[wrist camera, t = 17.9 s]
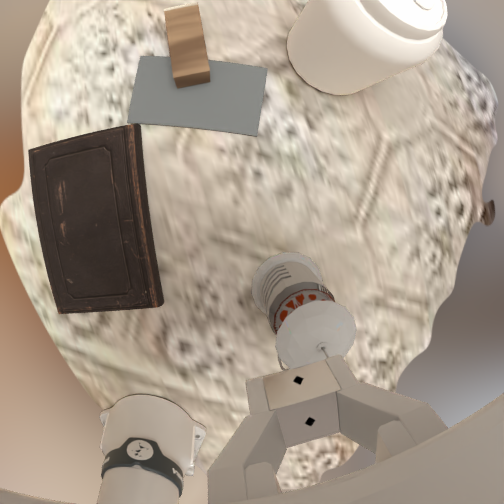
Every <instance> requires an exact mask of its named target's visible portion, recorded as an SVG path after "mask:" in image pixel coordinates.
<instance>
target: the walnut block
mask: <svg viewBox="0 0 504 504" xmlns="http://www.w3.org/2000/svg"><path fill="white" fill-rule="evenodd" d="M164 13H165V21H166V28H167V36H168V44H169V51H170V58H171V65H172V72H173V78H174V81H175V83H176V86H177V89H178V88H182V87H187V86H192V85H197V84H203V83H208V82H210V68H209V63H208V57H207V52H206V46H205V41H204V35H203V29H202V24H201V18H200V12H199V7H198V2H197V3H191V4H186V5H181V6H175V7H171V8H166V9H164Z"/></svg>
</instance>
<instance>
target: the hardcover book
mask: <svg viewBox="0 0 504 504" xmlns="http://www.w3.org/2000/svg"><path fill="white" fill-rule="evenodd" d="M28 151H29V165H30V176H31V185H32V193H33V201H34V208H35V215H36V221H37V226H38V232H39V237H40V242H41V247H42V252H43V257H44V261H45V265H46V270H47V274H48V278H49V282H50V285H51V289H52V293H53V296H54V300H55V303H56V307H57V310H58V313H59V314H67V313H86V312H102V311H117V310H130V309H143V308H155V307H160V306H162V305H163V303H164V299H163V294H162V288H161V283H160V277H159V272H158V266H157V260H156V254H155V248H154V241H153V235H152V228H151V221H150V213H149V206H148V198H147V189H146V181H145V171H144V161H143V150H142V138H141V126H140V125H139V124H130V125H125V126H120V127H115V128H110V129H106V130H101V131H97V132H92V133H88V134H84V135H80V136H76V137H72V138H68V139H64V140H60V141H57V142H53V143H50V144H46V145H43V146H40V147H36V148H33V149H30V150H28Z"/></svg>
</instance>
